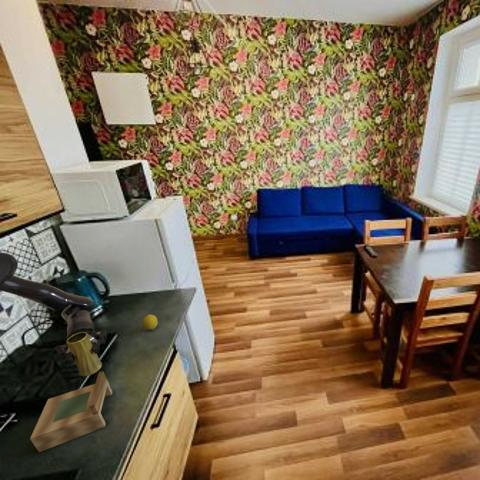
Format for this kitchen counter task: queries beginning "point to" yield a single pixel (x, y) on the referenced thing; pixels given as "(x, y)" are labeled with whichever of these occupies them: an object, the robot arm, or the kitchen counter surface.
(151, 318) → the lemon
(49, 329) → the kitchen counter surface
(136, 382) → the kitchen counter surface
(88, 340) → the vase
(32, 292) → the robot arm
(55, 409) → the wooden tray
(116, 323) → the kitchen counter surface
